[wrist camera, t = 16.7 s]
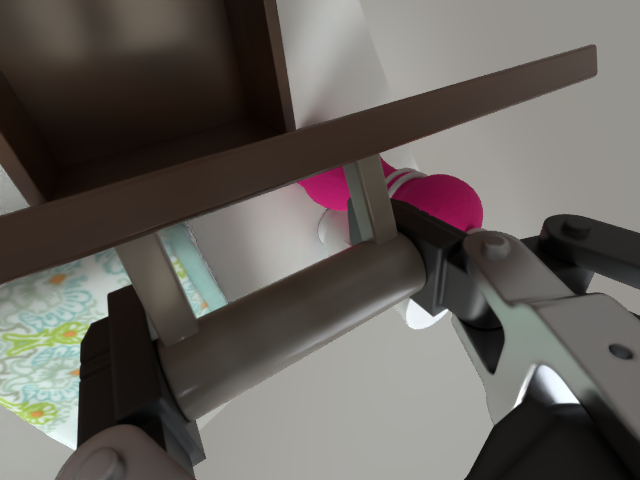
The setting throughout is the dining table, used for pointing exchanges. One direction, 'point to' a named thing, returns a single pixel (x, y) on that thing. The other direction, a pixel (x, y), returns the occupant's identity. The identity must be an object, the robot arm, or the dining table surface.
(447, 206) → the pepper mill
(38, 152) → the chest
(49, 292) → the towel
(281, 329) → the lid
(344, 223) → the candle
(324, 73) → the dining table surface
